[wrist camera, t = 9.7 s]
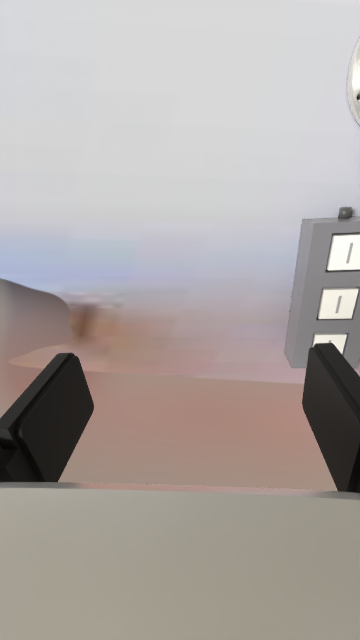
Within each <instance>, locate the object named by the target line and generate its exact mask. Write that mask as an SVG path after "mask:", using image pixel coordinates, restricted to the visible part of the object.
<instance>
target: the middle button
mask: <svg viewBox="0 0 360 640" xmlns="http://www.w3.org/2000/svg"><path fill="white" fill-rule="evenodd" d="M358 290H359V289H358V288H356V287H327V288H322V292H321V297H320V302H319V308H318V313H317V317H318V318H319V319H347V318H352V314H353V310H354V306H355V302H356V298H357V294H358Z"/></svg>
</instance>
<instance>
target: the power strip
mask: <svg viewBox="0 0 360 640" xmlns="http://www.w3.org/2000/svg"><path fill="white" fill-rule="evenodd" d="M351 209H352V207H341V208H340V211H339V216H338V218H321V219H302V226H301V233H300V240H299V248H298V255H297V263H296V270H295V277H294V285H293V292H292V300H291V307H290V314H289V322H288V329H287V337H286V344H285V351H284V353H285V355H286V358H287V360H288V362H289V364H290V366H291V368H307V361H308V353H309V348H310V347H311V346H312V340H313V335H314V333H346V334H347V337H346V341H345V345H344V349H343V353H342V355H343V356H344V358H345V359H346V360H347V361H348V363H349V364H350V365H351V366H352V368H357V367H358V363H359V360H360V269H356V270H327V269H326V265H327V259H328V254H329V249H330V243H331V238H332V233H354V232H360V217H350V213H351ZM327 287H356V288H358V289H359V290H358V294H357V298H356V302H355V306H354V310H353V314H352V318H347V319H319V318H318V317H317V313H318V308H319V302H320V297H321V292H322V288H327Z"/></svg>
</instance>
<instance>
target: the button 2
mask: <svg viewBox="0 0 360 640" xmlns="http://www.w3.org/2000/svg"><path fill="white" fill-rule="evenodd" d="M326 269H327V270H356V269H360V232H354V233H332V238H331V243H330V249H329V254H328V259H327V265H326Z"/></svg>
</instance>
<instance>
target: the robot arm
mask: <svg viewBox="0 0 360 640" xmlns="http://www.w3.org/2000/svg"><path fill="white" fill-rule="evenodd" d="M347 95H348V101H349V106H350V109H351V111H352V114H353V117H354V118H355V120H356V121H357V123H358V124H359V126H360V37H359V40H358V42H357V44H356V46H355V49H354V52H353V55H352V58H351V61H350V66H349V72H348V78H347ZM357 96H359V100H357ZM302 404H303V409H304V412H305V414H306V417H307V419H308V422H309V424H310V426H311V429H312V431H313V433H314V436H315V438H316V440H317V443H318V445H319V447H320V450H321V452H322V454H323V457H324V459H325V461H326V464H327V466H328V468H329V471H330V473H331V476H332V478H333V480H334V483H335V485H336V487H337V490H338V491H322V490H303V489H302V490H301V489H280V488H250V487H218V486H187V485H186V486H185V485H184V486H183V485H148V484H110V483H63V482H62V483H61V482H59V483H58V480H59V478H60V476H61V474H62V472H63V470H64V468H65V466H66V464H67V462H68V460H69V458H70V456H71V454H72V453H73V450H74V449H75V447H76V444H77V443H78V440H79V439H80V437H81V434H82V433H83V431H84V429H85V427H86V425H87V423H88V421H89V419H90V417H91V415H92V413H93V409H94V404H93V401H92V397H91V394H90V391H89V388H88V385H87V382H86V379H85V376H84V373H83V370H82V367H81V364H80V361H79V358H78V357H77V356H75V355H74V354H73V353H59V354H57V355H56V356H55V357H54V358H53V360H52V361H51V362H50V363H49V364H48V365H47V366H46V367H45V369H44V370H43V371H42V372H41V373H40V374H39V376H37V378H36V379H35V380H34V381H33V382H32V383H31V384H30V386H29V387H28V388H27V389H26V390H25V391H24V392H23V394H22V395H21V396H20V397H19V398H18V399H17V400H16V401H15V403H14V404H13V405H12V406H11V407H10V408H9V409H8V410H7V412H6V413H5V414H4V415H3V416H2V417H1V418H0V640H360V377H359V375H358V374H357V373H356V372H355V370H354V369H353V368H352V366H351V365H350V364H349V363H348V361H347V360H346V359H345V358H344V356H343V355H342V354H341V353H340V351H339V350H338V349H337V348H336V346H335V345H334V344H333V343H316V344H315V345H314V347H310V348H309V353H308V361H307V368H306V376H305V384H304V392H303V400H302Z"/></svg>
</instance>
